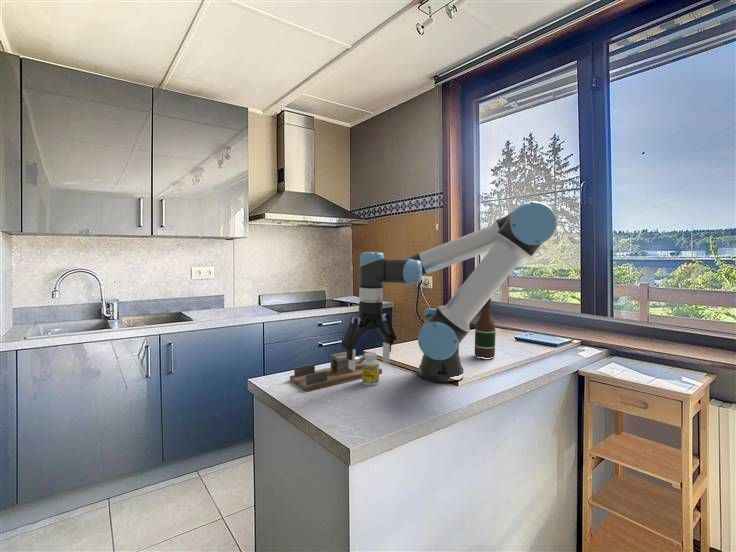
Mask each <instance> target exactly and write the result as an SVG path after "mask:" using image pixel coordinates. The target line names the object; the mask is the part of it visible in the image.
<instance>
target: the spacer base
mask: <svg viewBox="0 0 736 552" xmlns="http://www.w3.org/2000/svg"><path fill="white" fill-rule="evenodd" d="M336 361H337V366H336ZM362 363H363V362H361V363H356V364H355V370H354V371H353V370H351V369H349V359H347V351H344V352H343V351H341V352H338V353H333V354H332V353H331V354H330V367H327V368H321V369H317V370H316V369H315V368H316V367H315V366H316V365H315V363H311V364H305V365H300V366H296V367H293V370H294V371H293V372H294V374H293V375H289V381H290V382H292V383H293V384H294V385H296V386H297V387H299V388H301V390H303V391H305V392H307V393H308V392H312V391H315V390H319V389H324V388H328V387H332V386H336V385H341V384H346V383H348V382H352V381H353V382H354V381H356V380H361V379H363V366H362ZM382 374H383V369H382V368H380V367H379V375H382Z"/></svg>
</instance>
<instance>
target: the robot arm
mask: <svg viewBox="0 0 736 552" xmlns="http://www.w3.org/2000/svg"><path fill="white" fill-rule="evenodd" d="M556 217H557V216H556V214H555V212H554V211H553V210H552V208H551V207H550V206H548V205H547V204H545V203H544V202H541V201H540V202H539V201H532V200H531V201H526V202H524V203H522V204H519V206H517V207H516V208H514V210H513V211H512V212H510V213H508V214H506V215H505V216H503V217H501V218H499V219H496V220H494V221H493V223H492V224H491V225H489V226H486V227H484V228H481V229H478V230H475V231H473V232H471V233H468V234H465V235H463V236H460V237H459V238H455V239H453V240H450V241H448V242H445V243H443V244H439V245H437V246H435V247H432V248H430V249H429V248H428V249H427V250H425V251H421V252H419V253H416V254H414V255H411V256H408V257H406V258H402V259H401V258H400V259H396V258H394V259H393V258H391V259H390V258H385V256H384V253H383V252H377V251H364V252H362V253H361V254H360V257H359V258H360V259H359V288H358V290H359V295H358V296H359V297H358V298H359V300H360V301H359V302H358V313H359V316H358V317H355V316H351V317H350V322H349V325H348V327H347V330H346V332H345V335H344V338H343V340H342V342H341V344H340V346H341V347H342V348H344V349H346V352H347V359H349V369H351V370H353V371H354V370H355V357H356V356H357V355H356V354H357V353H356V349H354V348H355V347H356V345H357V344H358V343H359V341H360V339H361V338H362V336H363V334H364V333H366V332H367V331H371V330H376V331H377V332H378V333H379V334H380V336H381V337H382V339H383V340H384V342H383V341H382V362H384V363H386V364H390V358H391V357H390V353H391V352H392V344H394V343H395V341H396V340H397V336H396V333H395V331H394V328H393V325H392V323H391V319H390V314H388V313H383V306H384V305H383V302H382V300H383V299H384V291H383V290H384V283H385V284H389V283H390V284H403V285H404V284H405V285H418V284H420V283H421V281H422V277H424V276H426V275H428V274H431V273H433V272H436V271H439V270H442V269H445V268H447V267H450V266H453V265H455V264H458V263H461V262H464V261H467V260H469V259H472V258H475V257H478V256H480V255H483V254H486V255H485V256H484V257H483V258H482V259H481V261H480V262H479V264H477V266H476V267H475V268H474V270H473V271H472V272H471V273H470V275H469V276H468V277H467V278H466V280H465V281H464V282H463V284H462V285H461V286H459V288H458V289H457V291H456V292H455V294H454V295H453V296H452V297H451V298H450V299H449V301H448V302H447V304H444V305H438V307H437V308H426V309H425V310H424V315H423V316H424V324H423V325H422V326H421V327H420V329H419V331H418V334H417V335H418V336H417V342H418V347H419V349H420V350H421V352H422V353H423V355H422V358H421V360H420V364H419V366H418V375H419V377H420V378H422V379H424V380H426V381H431V382H437V383H449V382H448V378H450V377H454V376H459V375H461V374H463V373H465V372H464V368H463V365H462V361H461V358H460V354H459V352H460V350H459V349H460V343H462V341H463V340H464V339H465V338H466V336H467V335H468V334H469V333H470V330H471V329H470V324H471V322H472V320H474V318H475V317H476V316H477V315H478V313H479V312H481V308H482V307H483V306H484V305H485V303H486V302H487V301H488V300H489V299H490V298H491V297H492V296H493V295H494V294H495V293H496V291H497V290H498V289H499V288H500V287H501V285H502V284H503V283H504V281H506V279H507V278H508V277H509V276H510V274H511V273H512V272H513V271H514V270H515V269H516V268H517V266H518V265H519V263H520V262H521V261H522V260H524V259H531V257H532V256H533V255H534V254H535V253H536V252H537V250H539V248H540V247H541V245H543V244H544V243H546V242H547V241H548V240H550V239H551V238H552V236H553V235H554V234H555V231H556V228H557V218H556ZM381 322H382V323H383V325H382V323H381ZM384 328H385V329H384Z"/></svg>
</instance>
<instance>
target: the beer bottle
mask: <svg viewBox="0 0 736 552" xmlns="http://www.w3.org/2000/svg"><path fill="white" fill-rule="evenodd" d="M491 301H492V298H491V297H490V299H489V300H488V301H487V302H486V303H485V305H484V306H483V307H482V308H481V310H480V315H479V318H478V319H477V321H476V324H475V326H474V327H475V328H474V356H475V355H476V356H478V357H484V358H491V357H494V356H495V355H496V333H497V332H496V329H497V328H496V324H495V321H494V319H493V318H492V314H491V313H492V311H491V310H492V309H491ZM494 358H495V357H494Z"/></svg>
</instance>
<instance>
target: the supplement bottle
mask: <svg viewBox="0 0 736 552" xmlns="http://www.w3.org/2000/svg"><path fill="white" fill-rule="evenodd" d="M367 352H368V353H365V354H364V358H365V360H363V363H362V366H363V378H362V384H364V385H365V386H376V385H378V384H379V383H380V374H379V368H380V362H379V360H378V355H377V352H374V351H373V352H371V351H367Z"/></svg>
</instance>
